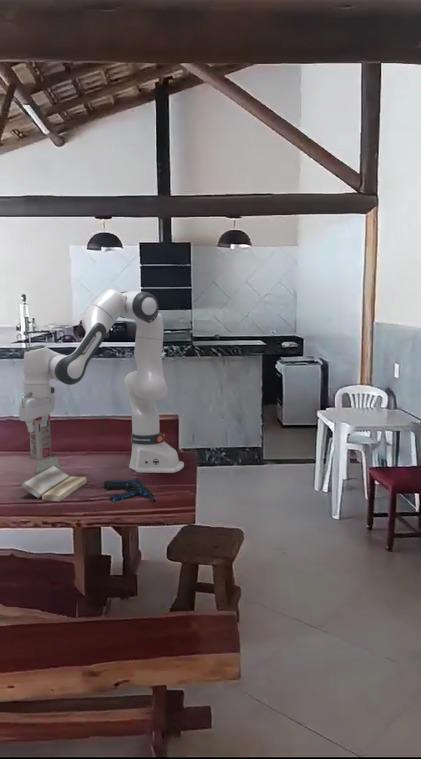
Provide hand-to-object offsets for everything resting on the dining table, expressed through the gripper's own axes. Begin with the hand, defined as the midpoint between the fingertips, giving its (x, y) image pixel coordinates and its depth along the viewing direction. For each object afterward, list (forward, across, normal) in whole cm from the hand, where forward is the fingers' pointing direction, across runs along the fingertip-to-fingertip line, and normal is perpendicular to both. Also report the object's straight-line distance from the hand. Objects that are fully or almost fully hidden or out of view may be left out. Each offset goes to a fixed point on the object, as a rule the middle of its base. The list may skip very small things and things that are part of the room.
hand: (37, 428), depth 233 cm
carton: (+22, +42, +21) cm, 52 cm away
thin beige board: (+22, 0, -10) cm, 25 cm away
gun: (+23, +2, -34) cm, 41 cm away
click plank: (+20, 0, -2) cm, 20 cm away
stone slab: (+23, +29, +11) cm, 39 cm away
